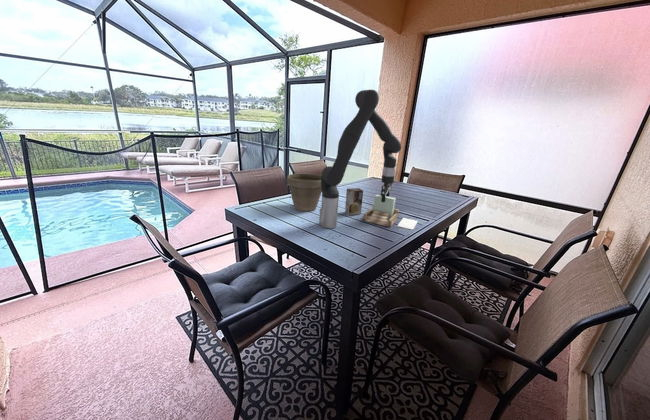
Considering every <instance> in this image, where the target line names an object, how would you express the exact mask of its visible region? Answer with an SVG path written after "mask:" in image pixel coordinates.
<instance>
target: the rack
mask: <svg viewBox="0 0 650 420" xmlns="http://www.w3.org/2000/svg"><path fill="white" fill-rule="evenodd" d="M371 207H372V208H370V209H369V210H367V211H366V212H365V213H364V214H363V219H362V221H364V222H369V223H372V224H377V225H381V226H384V227H388V228H392V226H393V225H394V224H395V222H397V220H398V218H399V213H400V209H398V208H394V213H393V216H392V217H391V218H390V219H389V220H388V221H387V220H383V219H379V218H374V217H371V215H372V214H373V208H374V203H373V204H372V205H371Z"/></svg>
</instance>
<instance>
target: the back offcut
mask: <svg viewBox="0 0 650 420" xmlns="http://www.w3.org/2000/svg"><path fill="white" fill-rule="evenodd" d="M373 214H377V215H381V216H385V217H387V221H389V220H388V218H389V213H384V212H380V211H374V212H373Z"/></svg>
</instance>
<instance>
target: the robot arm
mask: <svg viewBox="0 0 650 420" xmlns="http://www.w3.org/2000/svg"><path fill="white" fill-rule="evenodd" d="M354 99H355V105H356V106H357V108H358V111H357V113H356V115H355V116H354V118H353V119H352V120H351V121H350V122H349V123H348V124H347V125H346V127H345V128H344V129H343V131H342V133H341V135H340V139H339V141H338V143H337V144H338V146H337V151H336V152H337V153H336V154H337V155H336V158H335V160H334V162H333V164H332V166H330V165H329V166H326V167H324V168H323V169H322V172H321V191H322V192H321V205H320V206H321V208H320V209H319V215H318V216H319V218H318V219H319V222H318V225H319V226H321V227H322V228H325V229H334V228H336V227H337V226H338V225H337V224H338V213H339V211H338V210H339V197H340V192H339V189H338V187H337V186H338V185H339V184H340V183H341V182H342V180H343V179H344V177H345V173H346V170H347V168H348V164H349V163H350V160H351V158H352V156H353V153H354V151H355V149H356V147H357V145H358V143H359V142H360V139H361V137H362V135H363V133H364V131H365V128H366V126H367V125H368V123H370V124H371V125H372V128H373V129H374V130H375V132H376V134H377V136H378V137H379V139H380V140H381V141H382V142H383V147H382V152H383V167H382V172H381V178H380V179H381V183H382V184H383V185H381V189H380V195H381V196H382V199H381V202H385V198H386V196H388V197H390V194H391V192H392V188H393V187H392V186H393V184H395V179H396V177H395V176H396V165H397V158H396V157H395V156H394V154H398V153H399V152H400V151H401V149H402V143H401V141H400V140H399V138H398V137H397V136H396V135H395V134H394V133H393V131H392V130H391V128H390V126H389V124H388V123H387V121H386V120H385V119H384V118H383V117H382V116H381V115H380V114H379V113H378V112H377V111H376V109H377V106H378V104H379V100H380V96H379V92H378V91H377V90H375V89H363V90H359V91H358V92H357V94H356V95H355V98H354Z"/></svg>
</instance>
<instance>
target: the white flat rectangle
mask: <svg viewBox="0 0 650 420" xmlns="http://www.w3.org/2000/svg"><path fill="white" fill-rule="evenodd" d="M417 224H418V220H415V219H410V218H405V217H403V218H402V219H401V220H400V222H399V223H398V224H397V226H396V227H398V228H403V229H406V230H411V231H414V228H415V227H416V225H417Z"/></svg>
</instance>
